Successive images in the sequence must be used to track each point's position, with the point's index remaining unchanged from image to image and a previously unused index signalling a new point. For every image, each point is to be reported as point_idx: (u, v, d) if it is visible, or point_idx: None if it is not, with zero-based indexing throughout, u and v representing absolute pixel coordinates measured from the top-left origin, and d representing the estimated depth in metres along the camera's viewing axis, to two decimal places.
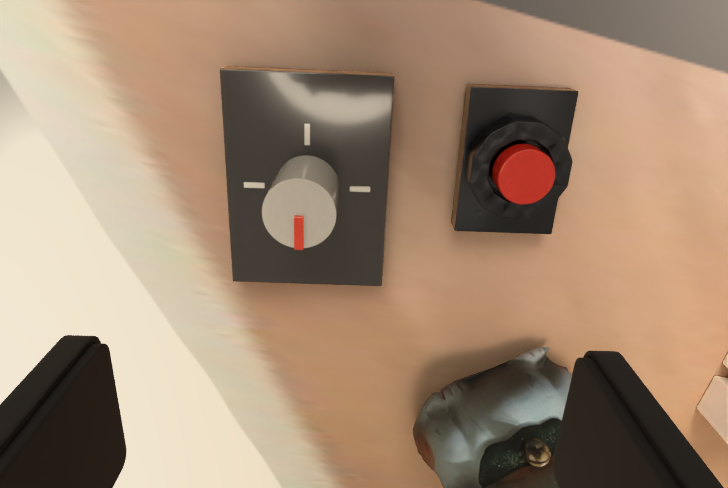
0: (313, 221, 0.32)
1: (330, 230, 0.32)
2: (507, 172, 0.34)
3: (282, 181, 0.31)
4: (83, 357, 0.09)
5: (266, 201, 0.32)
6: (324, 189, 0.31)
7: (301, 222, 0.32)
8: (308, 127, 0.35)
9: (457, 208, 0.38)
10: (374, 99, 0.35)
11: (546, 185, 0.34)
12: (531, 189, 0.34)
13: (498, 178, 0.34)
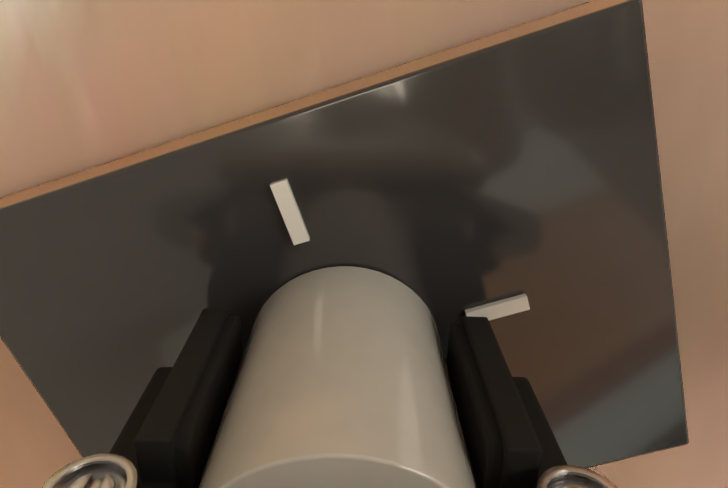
0: None
1: None
2: None
3: None
4: (227, 326, 0.11)
5: (343, 466, 0.07)
6: None
7: None
8: (516, 304, 0.12)
9: None
10: (625, 425, 0.14)
11: None
12: None
13: None
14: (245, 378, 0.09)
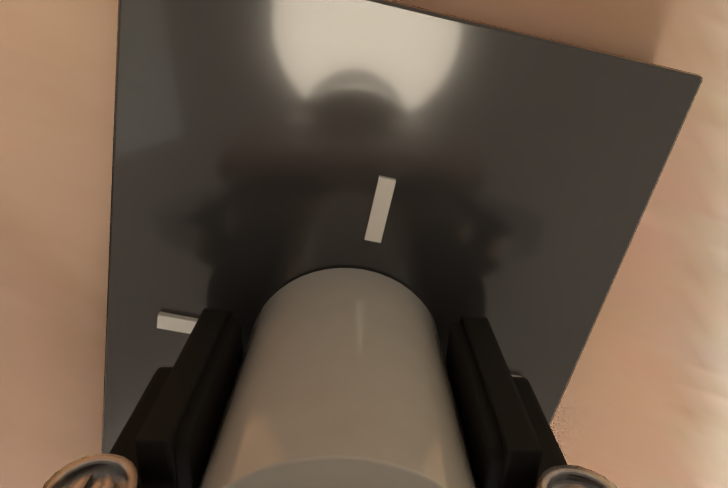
0: None
1: None
2: None
3: None
4: (227, 326, 0.11)
5: (343, 468, 0.07)
6: None
7: None
8: None
9: None
10: None
11: None
12: None
13: None
14: (245, 380, 0.09)
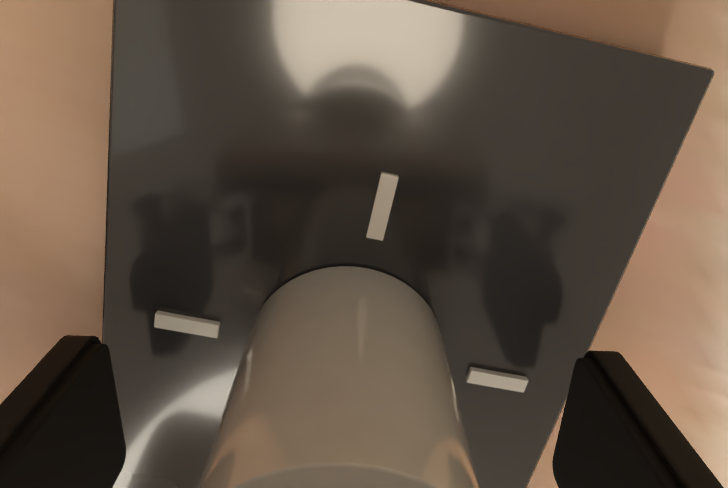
0: None
1: None
2: None
3: None
4: (83, 357, 0.09)
5: (347, 475, 0.07)
6: None
7: None
8: None
9: None
10: None
11: None
12: None
13: None
14: (244, 381, 0.09)
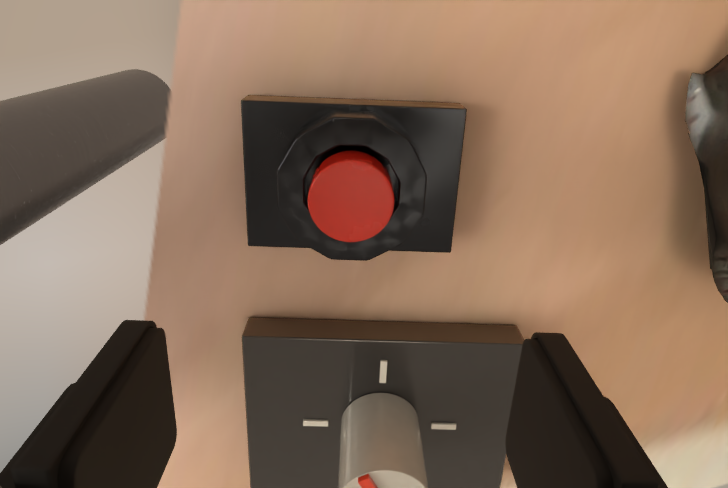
0: None
1: None
2: (343, 231, 0.23)
3: None
4: (145, 340, 0.10)
5: None
6: None
7: None
8: (307, 420, 0.30)
9: (416, 250, 0.27)
10: (271, 356, 0.29)
11: (363, 172, 0.22)
12: (369, 194, 0.22)
13: (352, 241, 0.23)
14: (406, 437, 0.27)
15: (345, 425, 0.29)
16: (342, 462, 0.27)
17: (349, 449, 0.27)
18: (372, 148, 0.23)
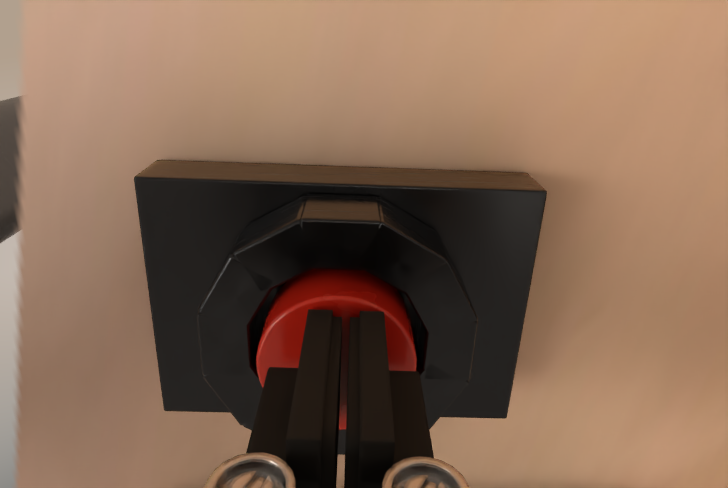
0: None
1: None
2: None
3: None
4: (335, 327, 0.11)
5: None
6: None
7: None
8: None
9: (449, 414, 0.16)
10: None
11: None
12: None
13: (340, 428, 0.13)
14: None
15: None
16: None
17: None
18: (376, 274, 0.12)
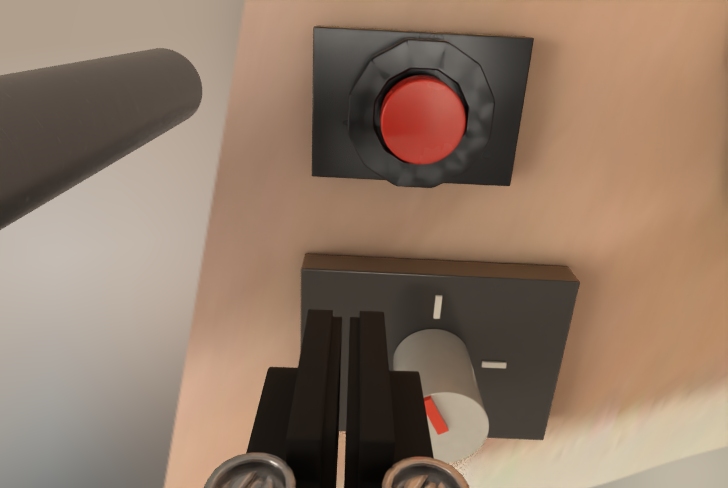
0: None
1: None
2: (413, 152, 0.23)
3: None
4: (335, 327, 0.11)
5: (485, 426, 0.26)
6: None
7: (437, 429, 0.26)
8: None
9: (476, 183, 0.27)
10: (328, 289, 0.29)
11: (437, 92, 0.22)
12: (442, 115, 0.23)
13: (422, 163, 0.24)
14: (463, 366, 0.28)
15: (399, 358, 0.29)
16: None
17: None
18: (443, 72, 0.23)
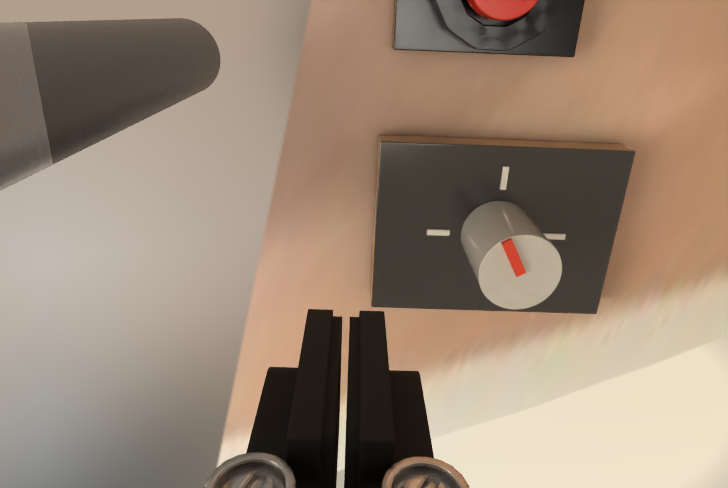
0: (502, 273, 0.28)
1: (480, 273, 0.28)
2: (498, 8, 0.26)
3: (549, 294, 0.29)
4: (335, 327, 0.11)
5: (559, 270, 0.28)
6: (504, 307, 0.29)
7: (516, 271, 0.28)
8: (430, 230, 0.33)
9: (543, 55, 0.30)
10: (404, 162, 0.32)
11: None
12: None
13: (505, 19, 0.26)
14: (533, 223, 0.30)
15: (470, 225, 0.32)
16: (477, 244, 0.30)
17: (483, 233, 0.30)
18: None
